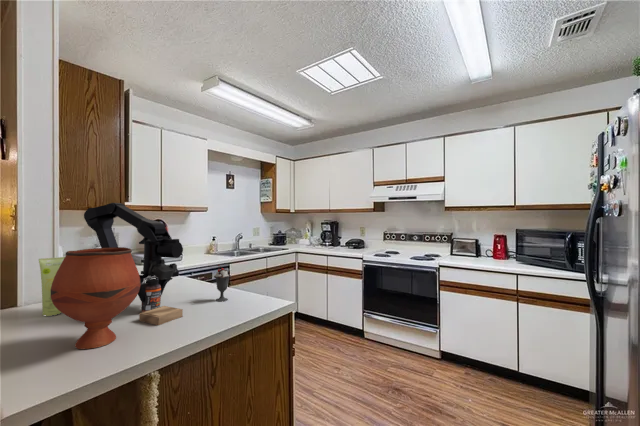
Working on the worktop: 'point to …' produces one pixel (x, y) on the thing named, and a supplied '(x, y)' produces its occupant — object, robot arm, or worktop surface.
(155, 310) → the pedestal
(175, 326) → the worktop surface
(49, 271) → the tube
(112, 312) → the goblet
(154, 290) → the supplement bottle
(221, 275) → the sundae
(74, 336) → the worktop surface
